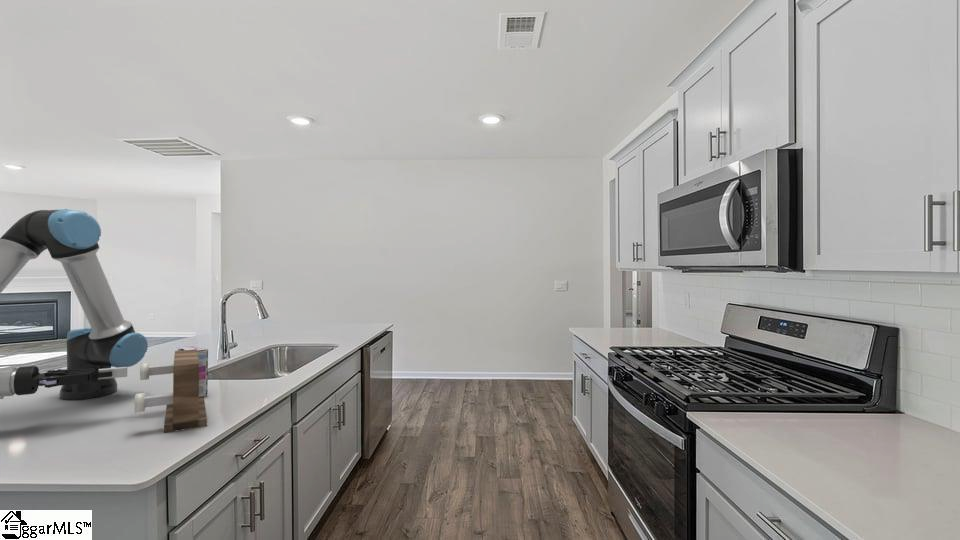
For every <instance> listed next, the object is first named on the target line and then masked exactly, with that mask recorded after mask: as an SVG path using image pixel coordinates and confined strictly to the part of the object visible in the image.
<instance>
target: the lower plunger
mask: <svg viewBox="0 0 960 540" xmlns="http://www.w3.org/2000/svg"><path fill="white" fill-rule="evenodd" d="M134 395H135V396H134V413H135V414H136V413H142V412H143V413H144V412H145V411H146V408H152V407H158V406H159V407H160V406H167V405H169V404H173V392H172V393H164V394H155V395H148V396H146V392H141V393H135V394H134Z"/></svg>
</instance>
